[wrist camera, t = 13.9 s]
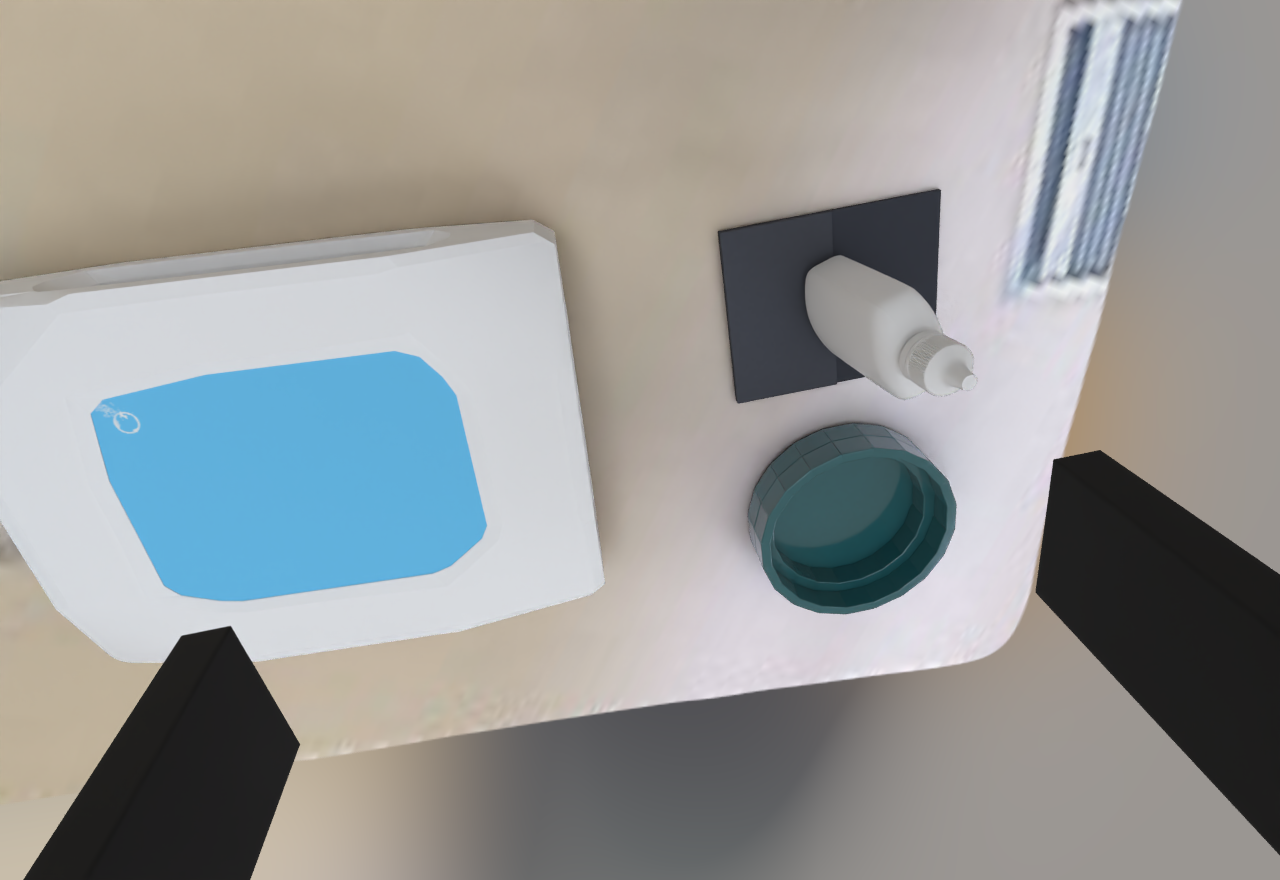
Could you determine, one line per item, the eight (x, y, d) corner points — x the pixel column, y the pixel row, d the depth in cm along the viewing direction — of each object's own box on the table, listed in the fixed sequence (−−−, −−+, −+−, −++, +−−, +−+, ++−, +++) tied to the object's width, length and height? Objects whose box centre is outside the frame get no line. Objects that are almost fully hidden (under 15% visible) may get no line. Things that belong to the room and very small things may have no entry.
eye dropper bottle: (881, 254, 39) (1036, 316, 28) (859, 352, 41) (996, 442, 31) (807, 251, 38) (940, 315, 27) (790, 352, 40) (906, 446, 30)
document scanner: (601, 546, 46) (608, 611, 40) (156, 610, 44) (101, 687, 39) (552, 211, 36) (553, 237, 31) (-24, 278, 34) (-132, 318, 29)
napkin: (717, 231, 37) (719, 233, 37) (938, 189, 38) (943, 190, 37) (735, 400, 42) (737, 403, 42) (931, 361, 43) (935, 364, 42)
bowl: (738, 442, 44) (753, 472, 40) (931, 404, 44) (961, 430, 41) (755, 594, 49) (769, 630, 46) (925, 559, 50) (951, 593, 46)
